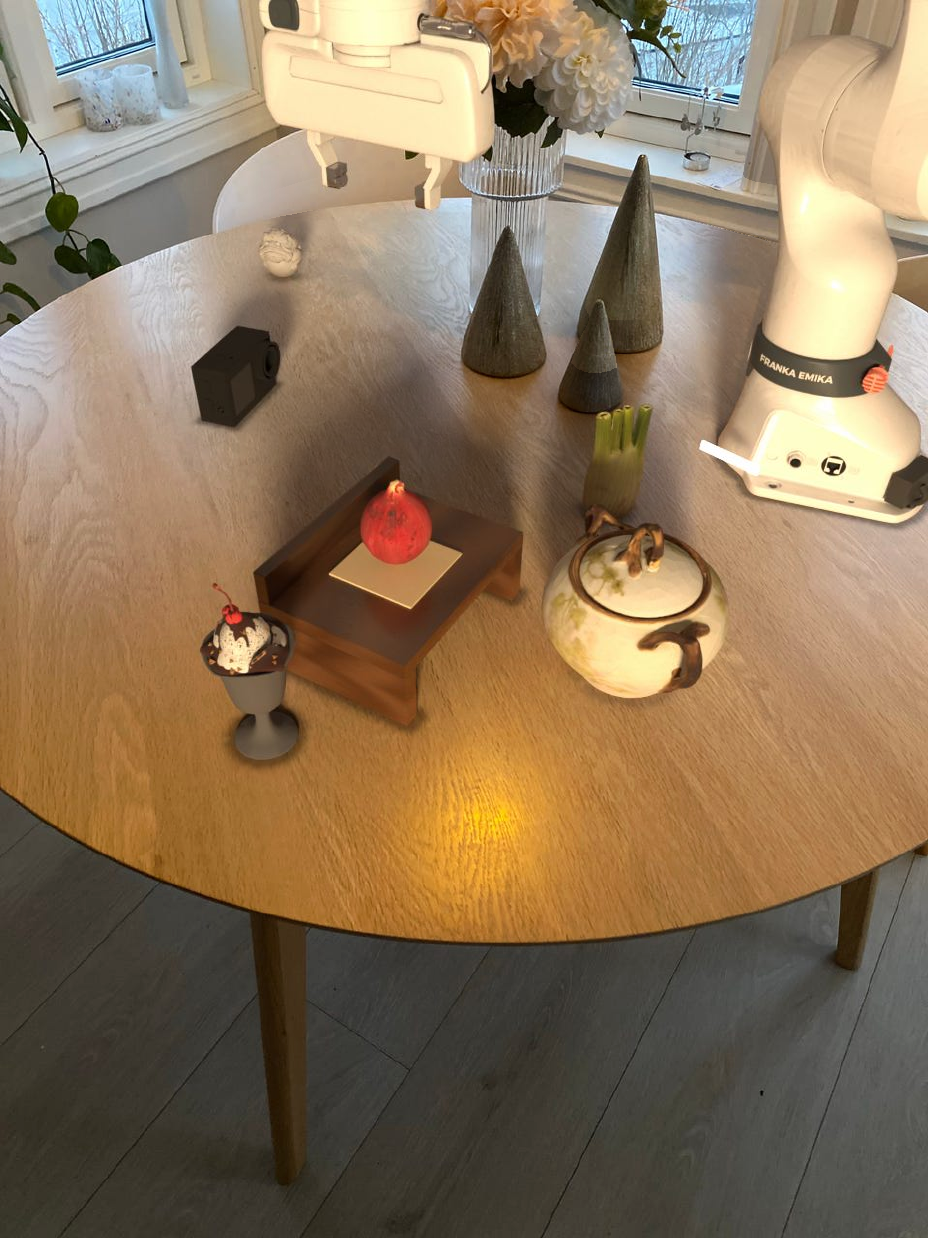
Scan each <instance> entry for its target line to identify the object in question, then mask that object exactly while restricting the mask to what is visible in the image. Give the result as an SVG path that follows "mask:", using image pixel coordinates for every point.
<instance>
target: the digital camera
mask: <svg viewBox="0 0 928 1238" xmlns="http://www.w3.org/2000/svg"><path fill="white" fill-rule="evenodd" d="M280 366H281V350H280V346H279V344H278V343H277V342H276V341H273V340H271V334H270V331H269V330H263V329H258V328H252V327H248V326H242V325H236V326H234V327H233V329H231V330H230V331H229V332H227V334H225V335H224V336H223V337H222V338H221V339H220V340H219V341H218V342H216V344H214V345H213V346H212V347H211V348H210V349H209V350H208V351H206V353H204V354H203V355H202V356H201V357H200V358H198V360H197V361H195V362H194V363H193V364H192V365H191V366H190V368H191V374H192V380H193V384H194V385H193V386H194V391H195V395H196V399H197V404H198V409H199V415H200V419H201V422H207V423H211V424H216V425H221V426H226V427H230V428H236V427H237V426H238V425H239V424H240V423H241V422H242V421H243V420H244V418H246V416H247V415H248V414H249V413H250V412H251V411H252V410H254V408H256V406H257V405H258V404H260V403H261V401H262V400H263V399H264V398H265V397H266V396H267V395H268V394H269V393H270V392H271V391H272V389H273V388H274V387H275V386H276V385H277V379H276V377H277V374H278V372H279V369H280Z"/></svg>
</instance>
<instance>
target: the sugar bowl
mask: <svg viewBox="0 0 928 1238" xmlns="http://www.w3.org/2000/svg"><path fill="white" fill-rule="evenodd" d="M604 522H606V523H607V524H608V525H609V526H610V527H612V528H613V530H612V531H608V532H605V533H601V534H600V531H601V529H602V526H603V524H604ZM584 532H585V533H584V534H583V535H581V536H580V537H579V538H577V539H576V540H575V543H574V544H573V545H572V547H571V549H570V550H569V551H567V552H566V554H564V555H563V556H561V558H560V559H559V560H558V562H557V563H556V564H555V566H554V567H553V568H552V570H551V572H550V573H549V575H548V576H547V579H546V582H545V585H544V588H543V592H542V597H541V615H542V620H543V626H544V630H545V632H546V635H547V637H548V638H549V640H550V642H551V644H552V645H553V647H554V648H555V650H556V652H557V653H558V654H559V655H560V656H561V658H562V660H563V661H565V662H566V664H568V666H570V667H571V669H573V670H574V671H575V672H576V673H578V674H579V675H581V676H582V678H583V679H584V680H585V681H586V682H588V684H590V685H591V686H593V687H594V688H595V689H597V690H599V691H600V692H603V693H604V694H605V693H606V694H608V695H610V696H614V697H619V698H626V699H637V698H638V699H639V698H645V697H649V696H653V695H655V694H659V693H660V694H670V693H673V692H674V691H677V690H683V689H690V688H692V687H693V686H695V684H696V683H697V682H698V681H699V680H700V678H701V675H702V673H703V670H704V669H705V668H706V667H707V666H708V665H709V664H710V663H711V662H712V661H713V660H714V659H715V657H716V656H717V655H718V653H719V652H720V650H721V648H722V646H723V644H724V642H725V640H726V638H727V634H728V631H729V624H730V616H731V615H730V614H731V613H730V603H729V599H728V595H727V592H726V591H727V590H726V588H725V586H724V584H723V582H722V579H721V578H720V576H719V575H718V573H717V571H715V569H714V568H713V566H712V565H710V564H709V562H708V561H706V559H705V558H703V557H702V556H701V555H700V554H699V552H697V551H696V550H695V549H694V548H693V547H691V546H690V545H689V544H687V543H686V542H684V541H682V540H680V539H679V538H676V537H675V536H673V535H670V534H668V533H665V531H664V528H663V527H661V526H660V525H659V524H658V523H652V522H644V523H641V524H640V525H637V527H635V526H633V525H630V524H628V523H625V522H623V521H622V520H620V519H617V518H616V517H614V516H613V515H612V514H611V513H610V512H609V511H608V510H607V509H606V507H605V506H604V505H601V504H593V505H591V506H590V507H589V508H588V510H586V511H585V513H584Z"/></svg>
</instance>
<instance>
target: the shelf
mask: <svg viewBox="0 0 928 1238" xmlns="http://www.w3.org/2000/svg"><path fill="white" fill-rule="evenodd" d="M400 464H401V462H400V459H399V458H396V457H393V456H390V455H388V456H386V458H384V459H383V460H382V461H381V462H380V463H379V464H377V465H376V466H375V467H374V468H373V469H372V470H371V471H369V472H368V473H367V474H366V475H365V476H363V477H362V478H361V479H360V480H359V481H357V482H356V483H355V484H354V485H353V486H352V487H351V488H349V490H347V491H346V492H345V493H343V494H342V495H341V496H340V497H339V498H338V499H336V500H335V501H334V502H333V503H332V504H331V505H329V506H328V507H327V508H326V509H325V510H324V511H323V512H322V513H320V514H319V515H317V516H316V517H315V518H314V519H313V520H312V521H310V522H309V524H308V525H306V526H305V527H304V528H303V529H301V530H300V531H299V532H298V533H297V534H295V535H294V536H293V537H292V538H291V539H290V540H288V541H287V542H286V543H285V544H284V545H283V546H281V548H279V549H277V551H276V552H275V553H274V554H272V555H271V556H270V557H269V558H268V559H266V560H265V561H264V562H263V563H261V564H260V565H259V566H258V567H257V568H256V569H254V570H253V572H252V575H253V579H254V585H255V590H256V591H255V592H256V596H257V602H258V604H257V605H258V609H259V613H263V614H267V615H270V616H273V617H275V618H277V619H279V620H281V621H282V622H284V623H285V624H287V625H288V626H289V627H291V629H292V630H293V632H294V634H295V649H294V651H293V654H292V656H291V658H290V660H289V662H288V664H287V665H286V671H289V672H290V673H292V674H295V675H297V676H299V677H301V678H303V679H305V680H307V681H309V682H310V683H311V682H312V683H314V684H315V685H317V686H320V687H322V688H324V689H327V690H328V691H331V692H332V693H335V694H337V695H339V696H341V697H343V698H345V699H347V700H349V701H352V702H354V703H356V704H358V705H360V706H362V707H365V708H366V709H368V710H370V711H372V712H375V713H377V714H379V715H381V716H383V717H386V718H387V719H389V720H392V721H394V722H396V723H398V724H400V725H402V726H405V727H406V728H407V727H408V726H409V725H411V723H412V721H413V720H414V719H415V718H416V717H417V715H418V710H417V706H418V703H417V673H416V672H417V670H416V668H417V667H418V666H419V664H420V663H421V662H422V661H423V660H424V659H425V658H426V656H427V655H429V653H430V652H431V651H432V649H434V647H435V646H436V645H437V644H438V643H439V641H440V640H441V639H442V638H443V637H444V636H445V634H447V633H448V631H449V630H450V629H451V628H452V627H453V626H454V624H456V622H457V621H458V620H459V619H460V617H461V616H462V615H463V614H464V613H465V612H466V611H467V609H468V608H469V607H471V605H472V604H473V603H474V602H475V600H476V599H477V598H479V596H480V595H481V593H483V591H486V592H488V593H490V594H493V595H495V596H498V597H501V598H502V599H506V600H509V601H510V602H511V601H512V602H513V600H514V599H515V598H516V597H517V595H518V594H519V593H520V588H521V587H520V586H521V575H522V574H521V572H522V562H523V561H522V560H523V547H524V546H523V545H524V535H525V533H524V531H522V530H519V529H516V528H513V527H511V526H508V525H505V524H502V523H500V522H497V521H494V520H492V519H489V518H486V517H483V516H481V515H478V514H475V513H473V512H470V511H467V510H464V509H463V508H459V507H456V506H453V505H450V504H447V503H446V502H442V501H440V500H437V499H434V498H432V497H430V496H429V497H428V496H426V495H424V494H421V493H418V492H415V491H414V490H413V491H412V490H410V489H407V488H404V489H405V490H408V491H411V492H413V493H414V494H415V495H417V496H418V497H419V498H420V499H421V500H422V501H424V503H425V504H426V505H427V507H428V509H429V511H430V515H431V520H432V527H433V529H432V535H431V538H430V541H429V544H428V546H427V547H426V548H425V550H424V551H423V552H422V553H421V554H420V555H419V556H418V557H417V558H415V559H413V560H411V561H409V562H407V563H405V564H399V565H393V564H387V563H384V562H382V561H381V560H379V559H377V558H375V557H374V556H373V555H372V554H371V553H370V551H369V550H368V549H367V547H366V546H365V545H364V543H363V541H362V537H361V528H360V525H361V517H362V514H363V511H364V509H365V507H366V505H367V504H368V502H369V501H370V500H371V499H372V498H373V497H374V496H376V495H377V494H378V493H380V492H381V491H384V490H387V488H388V486H389V485H390V482H392V481H395V480H396V479H397V480H400V481H401V465H400Z"/></svg>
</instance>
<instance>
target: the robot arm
mask: <svg viewBox="0 0 928 1238" xmlns="http://www.w3.org/2000/svg"><path fill="white" fill-rule="evenodd" d="M258 15H259V20H260V22H261V24H262V26H263V27H264V28H265V29H268V31H267V32H266V33H265V34H264V35H263V39H262V43H261V51H260V54H261V71H262V83H263V92H264V93H263V94H264V100H265V106H266V108H267V111H268V112H269V114H270V116H271V117H272V119H273V121H274V122H275V123H276V124H277V125H279V126H280V125H281V126H285V127H291V128H295V129H300V130H305V131H306V140H307V145H308V146H309V149H310V151H311V152H312V154H313V156H314V158H315V160H316V161H317V163H318V165H319V166H320V170H321V180H322V185H323V186H324V187H326V188H332V189H336V190H341V189H342V188H345V187H346V186H347V185H348V182H349V181H348V180H349V177H348V175H347V172H348V163H346V162H343V161H340V159H339V157H338V155H337V153H336V150H335V148H334V146H333V143H332V140H335V138H336V137H338V138H343V139H348V140H353V141H357V142H363V143H368V144H371V145H372V144H373V145H377V146H382V147H387V148H392V149H396V150H402V151H405V152H411V153H416V154H421V155H424V161H425V162H424V165H425V168H426V169H428V170H430V172H429V175H427V179H426V180H425V181H422V182H421V183H420V184H417V185H416V186H414V196H415V200H414V205H415V207H416V208H417V209H421V210H426V211H430V212H433V211H434V210H436V209H438V208H439V207H440V206H441V203H442V199H441V198H442V196H441V195H442V192H441V191H442V185H443V183H444V181H445V179H446V177H447V176H448V174H449V172H450V170H451V168H452V167H453V165H454V161H455V162H458V163H459V162H460V163H465V164H466V163H471V162H473V161H475V160H477V159H478V158H480V157H482V156H483V155H485V154H486V153H487V152H488V150H490V148H491V147H492V145H493V144H494V141H495V135H496V132H495V131H496V127H495V126H496V125H495V124H496V123H495V121H496V120H495V106H494V94H493V85H492V78H493V75H494V72H493V71H494V50H493V45H492V43H491V42H490V41H489V38H488V37H487V36H486V35H485V34H484V33H483V32H482V31H480V30H479V29H478V27H477V25H476V24H475V23H473V22H471V21H469V20H458V21H456V20H451V19H447V18H444V17H440V16H433V15H431V0H259V1H258ZM475 38H478V39H475ZM758 120H759V123H760V127H761V130H762V132H763V134H764V136H765V138H766V141H767V143H768V146H769V150H770V153H771V157H772V162H773V166H774V167H773V168H774V174H775V181H776V182H775V184H776V195H777V213H778V214H777V215H778V216H777V217H778V218H777V219H778V235H777V236H778V237H777V250H776V257H775V263H774V267H773V272H772V278H771V283H770V286H769V290H768V291H769V292H768V296H767V301H766V305H765V308H764V313H763V317H762V319H761V320H760V323H758V324H757V326H756V328H755V331H754V333H753V336H752V339H751V342H750V347H749V352H748V355H747V360H746V371H745V376H746V378H745V382H744V384H743V387H742V389H741V393H740V395H739V397H738V400H737V402H736V404H735V407H734V409H733V411H732V413H731V414H730V415H731V416H730V418H729V419H728V421H727V423H726V425H725V426H724V428H723V429H722V430H721V432H720V434H719V436H718V439H717V445H715V444H713V443H710V442H708V441H707V440H704V439H702V440H701V442H700V446H699V450H701V451H703V452H705V453H708V454H709V455H712V456H714V457H715V458H718V459H720V460H722V461H724V462H725V463H726V464H727V465H728V466H729V468H731V469H732V470H733V471H735V472H736V473H737V474H738V475H739V476H740V477H741V479H742V482H743V484H744V485H745V487H746V489H747V491H749V493H751V494H752V495H754V496H757V497H761V498H766V499H770V500H776V501H781V502H785V503H789V504H795V505H799V506H804V507H810V508H814V509H819V510H824V511H830V512H835V513H839V514H844V515H848V516H853V517H858V518H862V519H863V518H864V519H868V520H873V521H877V522H878V521H879V522H882V523H883V522H884V523H888V524H899V523H902V522H904V521H907V520H909V519H911V518H913V517H914V516H915V515H916V514H917V513H919V511H920V510H921V509H922V508H923V506H924V505H925V504H926V503H927V502H928V455H926V454H925V453H924V452H923V451H921V443H922V427H921V421H920V419H919V417H918V415H917V413H915V411H914V410H913V409H912V408H911V407H910V406H909V405H908V404H907V403H906V402H905V401H904V400H903V399H902V398H901V397H900V396H899V394H898V393H897V392H896V391H895V390H894V389H893V388H892V387H891V386H890V384H889V383H888V380H889V371H890V369H891V365H892V361H893V359H892V356H893V354H894V345H893V344H891V345H890V346H889V348H888V350H886V348H885V347H884V346H883V345H882V343H881V342H880V341H879V340H878V335H879V333H880V329H881V327H882V324H883V320H884V317H885V314H886V311H887V309H888V305H889V303H890V299H891V297H892V294H893V291H894V287H895V284H896V281H897V277H898V273H899V272H898V271H899V260H898V255H897V250H896V247H895V245H894V243H893V241H892V239H891V236H890V235H889V231H888V228H887V224H886V218H885V212H886V213H887V214H889V215H892V216H896V217H899V218H904V219H909V220H913V221H918V222H925V223H928V0H903V5H902V11H901V17H900V21H899V24H898V28H897V32H896V35H895V39H894V41H893V44H892V46H888V45H886V44H883V43H879V42H877V41H874V40H871V39H868V38H865V37H863V36H861V35H860V36H859V35H854V34H853V35H852V34H815V35H810V36H807V37H803V38H802V39H799V40H798V41H796V42H794V43H792V45H790V46H789V47H788V48H786V49H785V50H784V51H783V52H782V53H781V55H780V56H779V57H778V58H777V59H776V61H775V62H774V63H773V65H772V67H771V68H770V70H769V71H768V73H767V75H766V76H765V80H764V82H763V85H762V88H761V92H760V96H759V100H758Z"/></svg>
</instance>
